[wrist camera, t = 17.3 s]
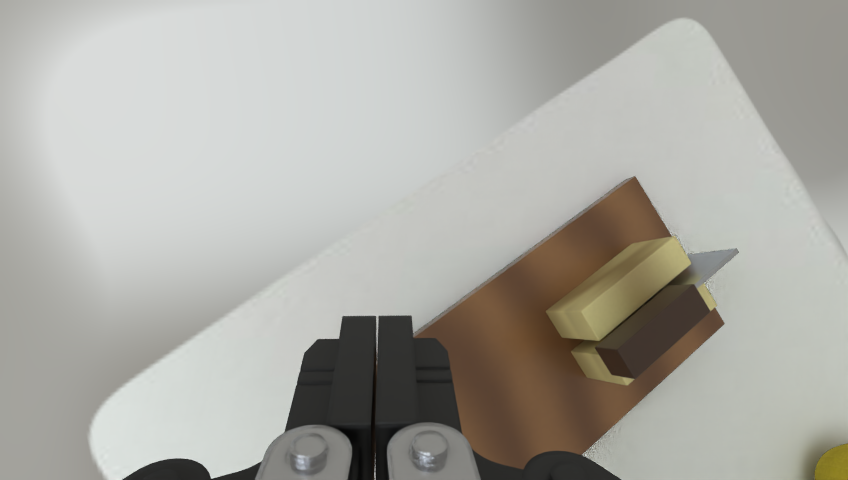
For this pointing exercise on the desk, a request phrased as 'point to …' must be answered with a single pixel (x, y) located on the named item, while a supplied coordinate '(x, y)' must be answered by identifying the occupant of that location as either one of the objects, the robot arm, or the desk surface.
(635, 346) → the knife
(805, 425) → the desk surface
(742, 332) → the desk surface
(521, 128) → the desk surface
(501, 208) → the desk surface
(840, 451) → the lemon
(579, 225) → the butter board
